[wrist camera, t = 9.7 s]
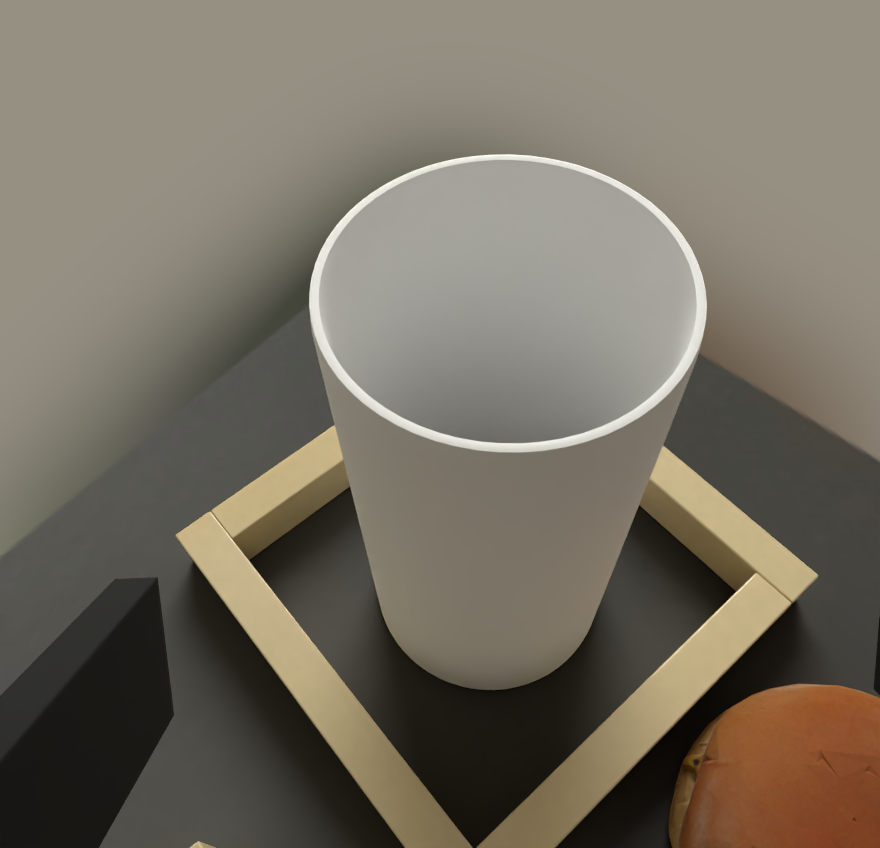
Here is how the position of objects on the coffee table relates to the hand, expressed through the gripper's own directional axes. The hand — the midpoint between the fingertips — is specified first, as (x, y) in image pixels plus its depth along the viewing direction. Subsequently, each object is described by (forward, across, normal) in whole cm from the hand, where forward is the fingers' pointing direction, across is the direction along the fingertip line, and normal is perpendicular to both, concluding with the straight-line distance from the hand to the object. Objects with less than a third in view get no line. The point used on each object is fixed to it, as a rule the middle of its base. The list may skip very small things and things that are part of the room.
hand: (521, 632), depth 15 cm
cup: (+15, 0, -5) cm, 16 cm away
